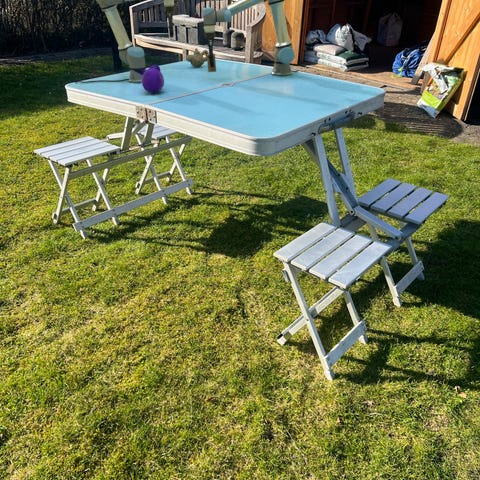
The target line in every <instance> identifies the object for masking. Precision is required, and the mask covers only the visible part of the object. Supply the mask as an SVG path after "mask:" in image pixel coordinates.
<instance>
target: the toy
mask: <svg viewBox="0 0 480 480" xmlns="http://www.w3.org/2000/svg"><path fill="white" fill-rule="evenodd" d="M134 71H135V72H137V73H139V74H141V75H143V76H142V83H141V85H142V87H143V89H144V90H145V91H146V92H147V93H151V94H157V93H159V92H160V91H161V90H162V89H163V87H164V86H165V78H164V75H163V72H161V67H160V66H159V65H158V64H153V65H151V66H149V67H148V68H146V70H134Z"/></svg>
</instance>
